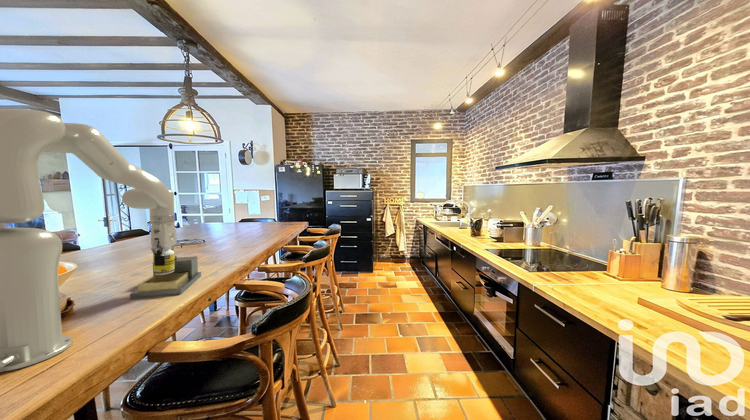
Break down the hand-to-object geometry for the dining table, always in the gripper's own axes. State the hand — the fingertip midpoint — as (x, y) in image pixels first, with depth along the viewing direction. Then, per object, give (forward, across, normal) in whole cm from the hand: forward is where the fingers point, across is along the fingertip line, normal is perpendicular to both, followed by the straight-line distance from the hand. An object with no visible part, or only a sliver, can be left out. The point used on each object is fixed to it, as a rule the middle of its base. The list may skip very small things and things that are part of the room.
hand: (164, 262), depth 99 cm
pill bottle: (+5, 0, 0) cm, 5 cm away
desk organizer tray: (+11, +4, 0) cm, 12 cm away
